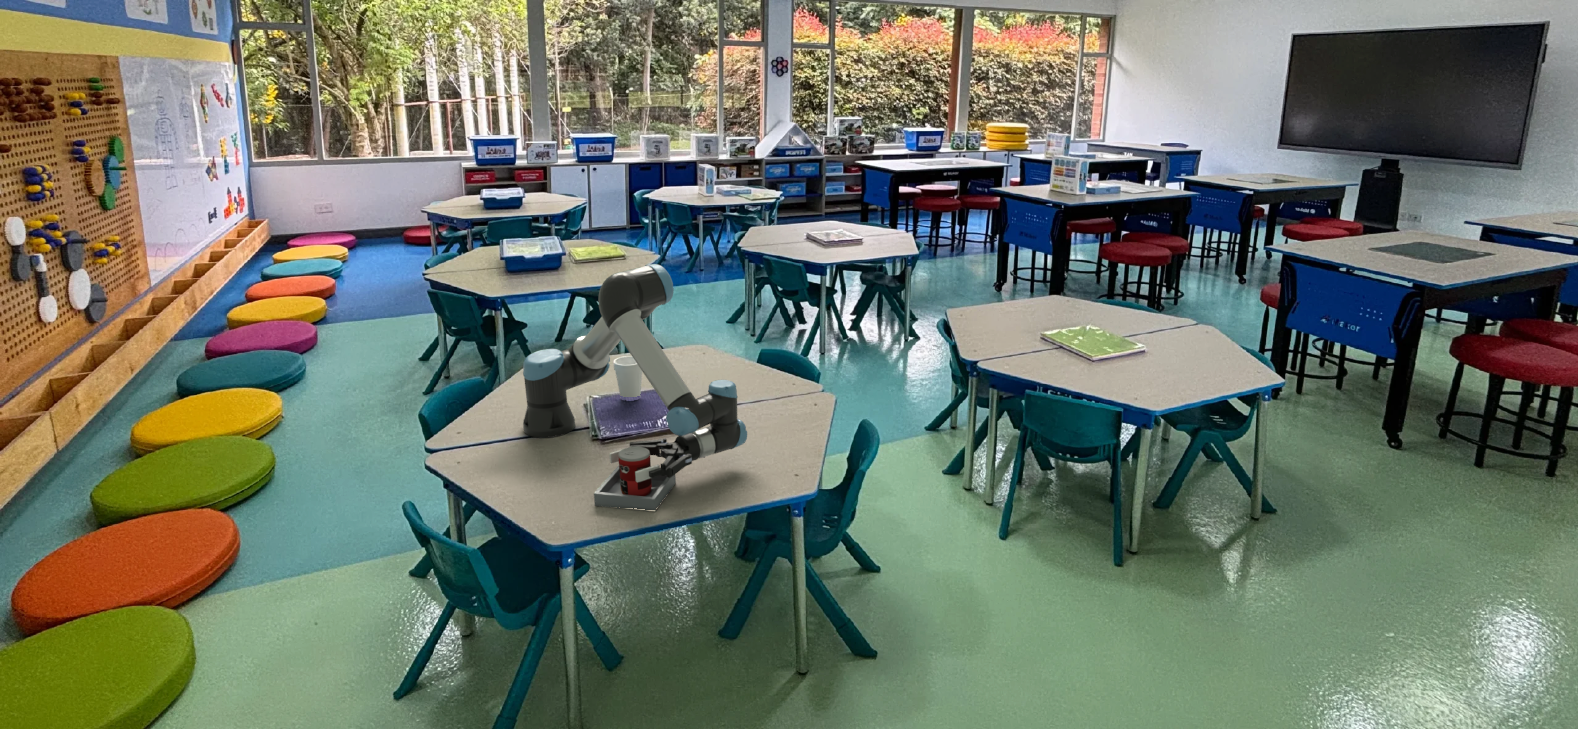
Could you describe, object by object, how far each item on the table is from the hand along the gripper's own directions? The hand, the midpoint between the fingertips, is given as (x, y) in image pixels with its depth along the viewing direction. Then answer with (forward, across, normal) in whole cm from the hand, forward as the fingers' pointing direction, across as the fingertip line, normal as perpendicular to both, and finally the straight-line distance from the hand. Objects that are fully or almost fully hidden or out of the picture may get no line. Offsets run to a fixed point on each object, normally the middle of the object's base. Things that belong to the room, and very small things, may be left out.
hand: (622, 467), depth 232 cm
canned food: (-3, 0, -8) cm, 9 cm away
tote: (-3, 0, -9) cm, 9 cm away
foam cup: (-35, +60, -9) cm, 70 cm away
